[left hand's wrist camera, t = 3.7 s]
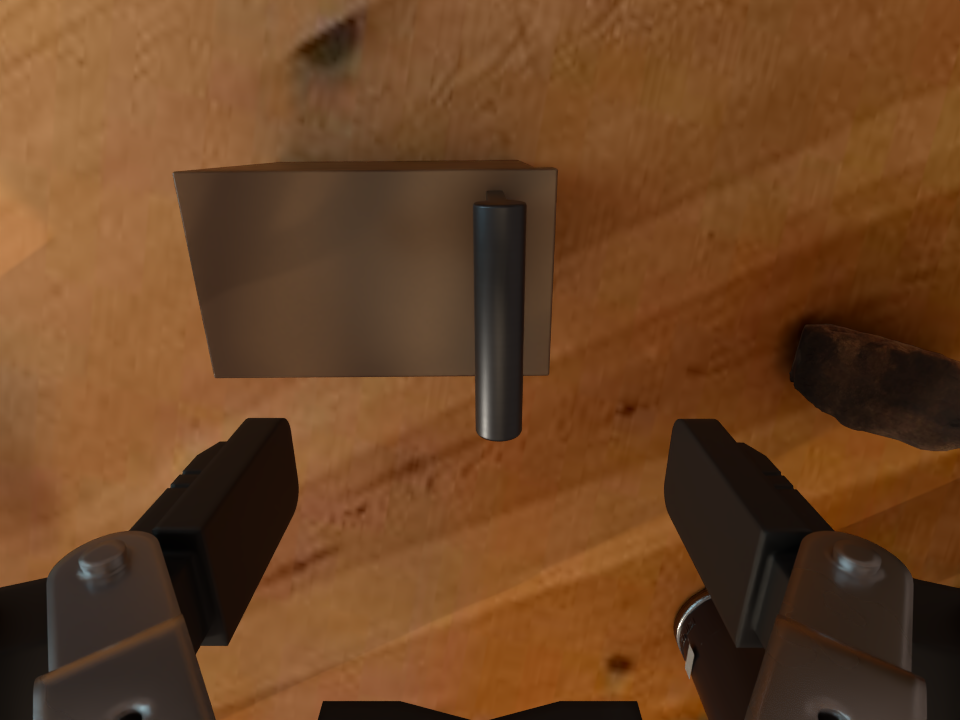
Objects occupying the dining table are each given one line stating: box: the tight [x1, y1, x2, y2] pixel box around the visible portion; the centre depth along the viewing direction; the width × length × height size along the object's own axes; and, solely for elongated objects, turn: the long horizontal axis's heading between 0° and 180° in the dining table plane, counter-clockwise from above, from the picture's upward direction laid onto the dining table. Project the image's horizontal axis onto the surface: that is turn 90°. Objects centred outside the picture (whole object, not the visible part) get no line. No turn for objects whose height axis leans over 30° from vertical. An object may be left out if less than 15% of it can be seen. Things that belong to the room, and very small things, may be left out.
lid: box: [173, 167, 558, 441], centre depth 21 cm, size 16×9×8 cm, turn 90°
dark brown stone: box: [790, 324, 960, 451], centre depth 33 cm, size 12×6×11 cm, turn 77°
